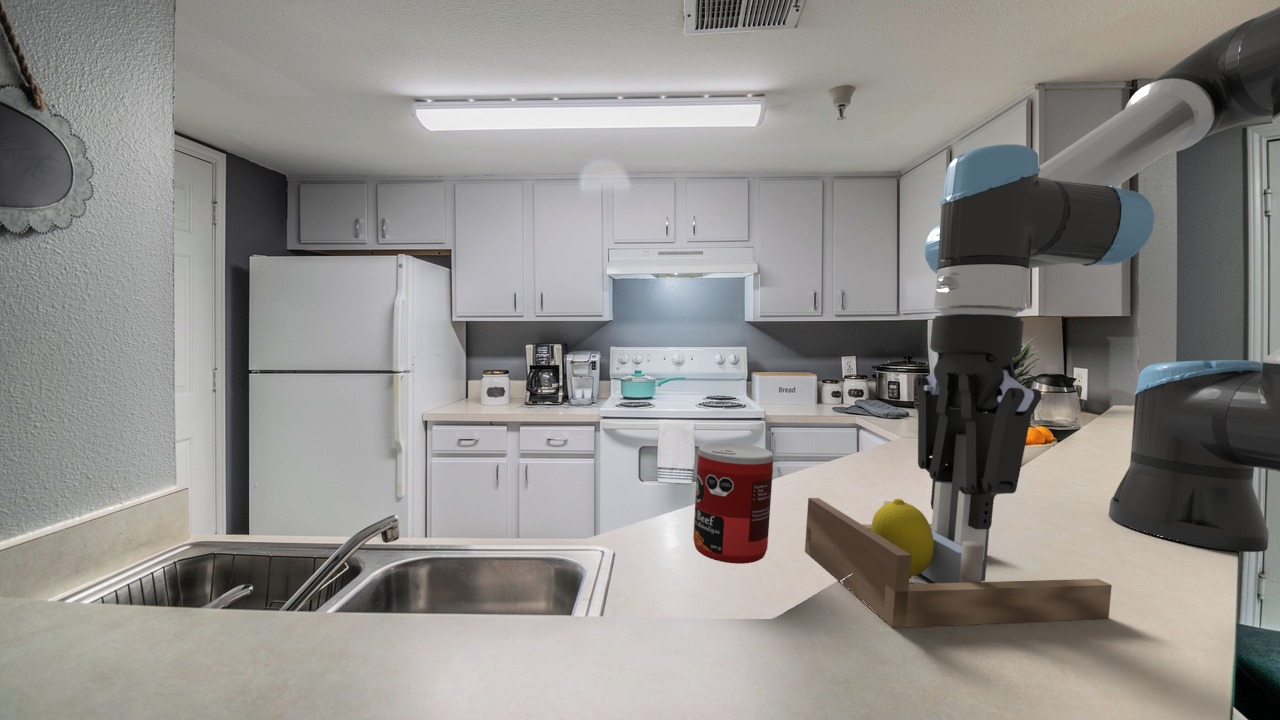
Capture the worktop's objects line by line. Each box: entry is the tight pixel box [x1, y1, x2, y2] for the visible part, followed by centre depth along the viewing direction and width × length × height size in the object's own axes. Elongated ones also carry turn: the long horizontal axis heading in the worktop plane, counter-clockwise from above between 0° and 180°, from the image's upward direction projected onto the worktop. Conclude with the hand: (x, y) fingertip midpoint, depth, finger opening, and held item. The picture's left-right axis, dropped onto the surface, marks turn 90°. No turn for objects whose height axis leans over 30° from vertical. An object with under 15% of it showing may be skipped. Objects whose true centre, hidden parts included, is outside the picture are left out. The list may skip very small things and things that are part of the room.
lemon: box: [870, 498, 934, 580], centre depth 52 cm, size 6×6×8 cm
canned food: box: [692, 442, 774, 565], centre depth 58 cm, size 8×8×11 cm
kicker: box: [920, 434, 990, 583], centre depth 52 cm, size 6×8×14 cm
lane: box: [804, 497, 1113, 629], centre depth 52 cm, size 21×15×6 cm
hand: (956, 551), depth 53 cm, fingers closed on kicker, 2 cm apart
